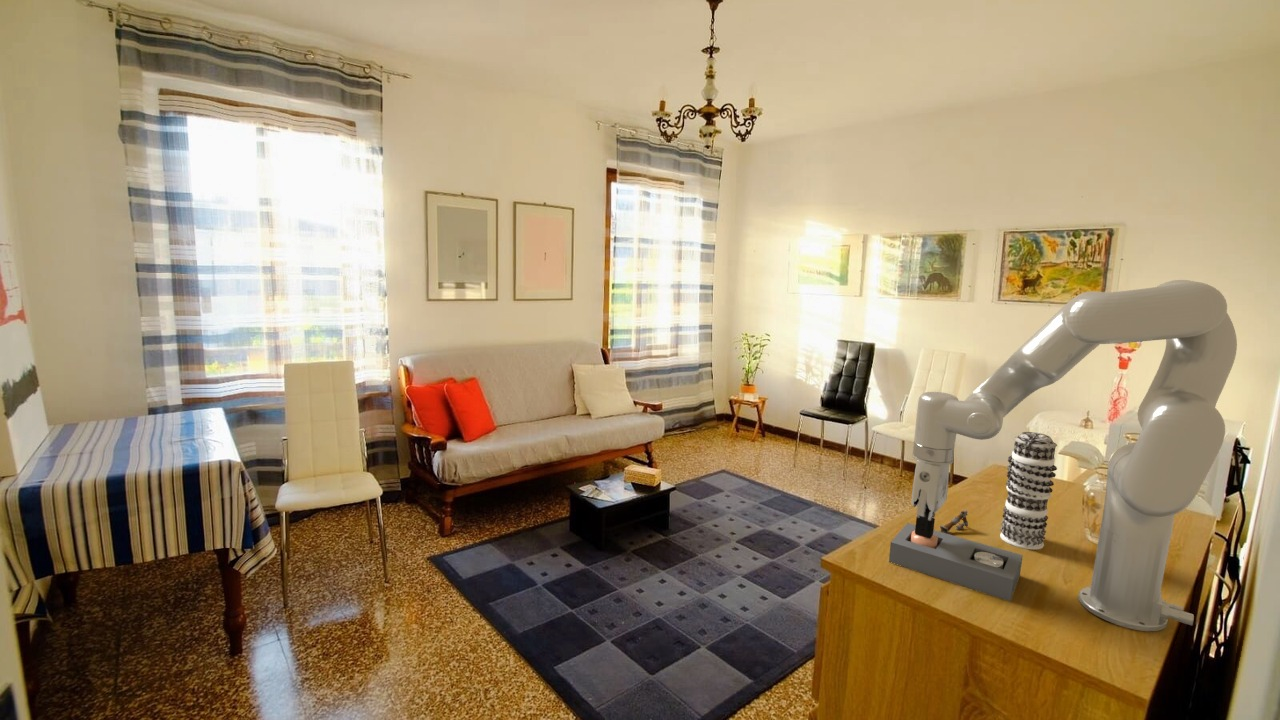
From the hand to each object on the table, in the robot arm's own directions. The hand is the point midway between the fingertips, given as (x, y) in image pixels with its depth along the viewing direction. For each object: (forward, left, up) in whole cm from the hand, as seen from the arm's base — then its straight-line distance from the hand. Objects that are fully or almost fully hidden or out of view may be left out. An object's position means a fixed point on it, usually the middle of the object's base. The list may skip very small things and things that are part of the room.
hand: (923, 535), depth 125 cm
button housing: (-6, 0, -5) cm, 8 cm away
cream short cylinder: (-12, 0, -5) cm, 13 cm away
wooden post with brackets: (-2, -20, -6) cm, 21 cm away
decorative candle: (-15, -24, -6) cm, 29 cm away
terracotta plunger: (0, 0, -4) cm, 4 cm away
